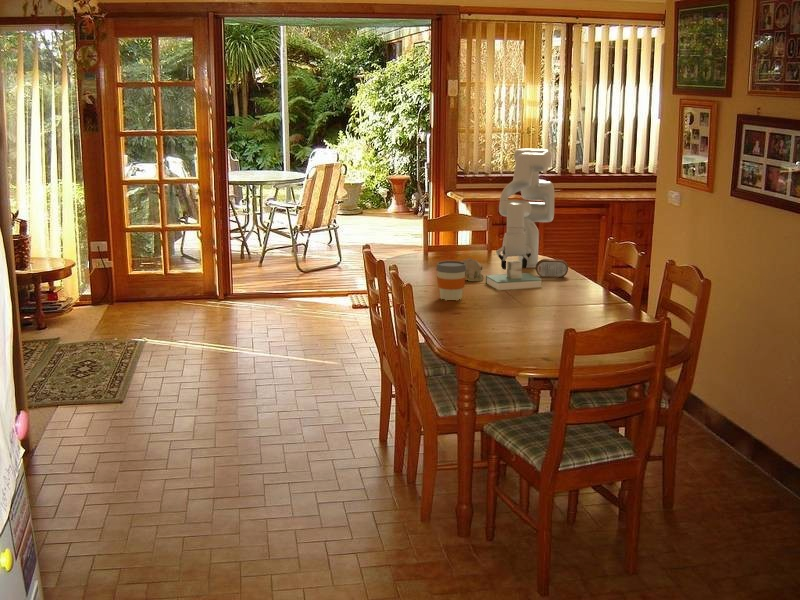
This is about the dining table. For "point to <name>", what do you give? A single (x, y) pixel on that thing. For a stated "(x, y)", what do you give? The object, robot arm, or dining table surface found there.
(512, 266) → the block
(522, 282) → the book
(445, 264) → the reusable coffee cup
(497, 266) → the dining table surface
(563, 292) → the dining table surface
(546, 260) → the tin
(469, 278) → the ceramic model
